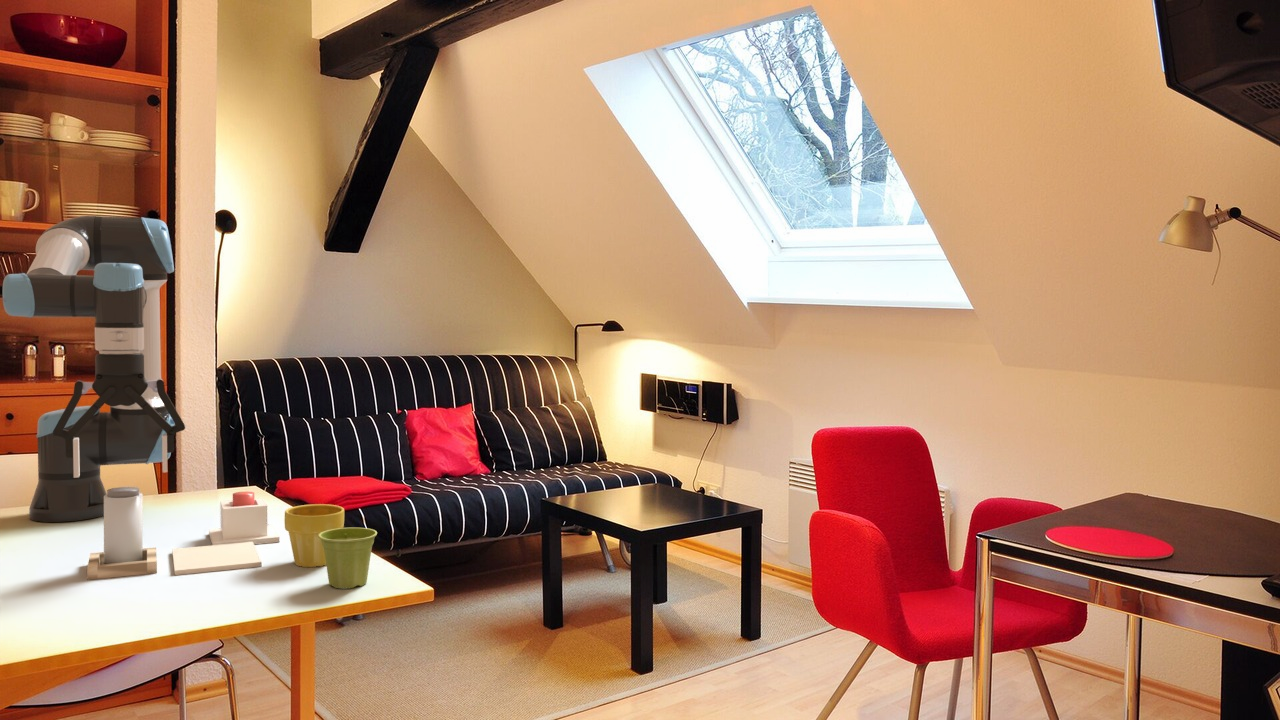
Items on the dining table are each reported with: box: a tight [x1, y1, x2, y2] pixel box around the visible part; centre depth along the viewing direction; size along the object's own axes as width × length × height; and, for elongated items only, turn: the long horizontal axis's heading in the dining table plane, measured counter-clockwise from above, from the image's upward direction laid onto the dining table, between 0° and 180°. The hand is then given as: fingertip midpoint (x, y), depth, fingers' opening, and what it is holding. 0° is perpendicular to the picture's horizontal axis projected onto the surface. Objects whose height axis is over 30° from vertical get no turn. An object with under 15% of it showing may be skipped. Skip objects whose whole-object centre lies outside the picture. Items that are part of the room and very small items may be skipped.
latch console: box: [208, 497, 280, 545], centre depth 194 cm, size 12×12×7 cm
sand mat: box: [172, 542, 263, 576], centre depth 178 cm, size 16×14×1 cm
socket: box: [86, 547, 158, 581], centre depth 172 cm, size 10×10×2 cm
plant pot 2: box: [319, 527, 378, 589], centre depth 165 cm, size 9×9×9 cm
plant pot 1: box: [284, 503, 345, 568], centre depth 177 cm, size 10×10×10 cm
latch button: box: [232, 491, 255, 507], centre depth 194 cm, size 4×4×5 cm
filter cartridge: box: [103, 486, 144, 564], centre depth 171 cm, size 6×6×14 cm
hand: (121, 474), depth 170 cm, fingers open, 13 cm apart
